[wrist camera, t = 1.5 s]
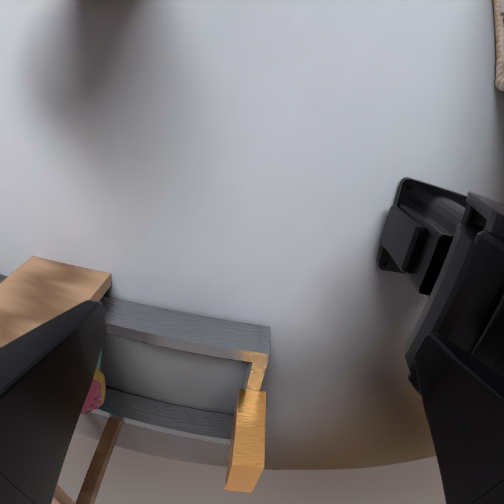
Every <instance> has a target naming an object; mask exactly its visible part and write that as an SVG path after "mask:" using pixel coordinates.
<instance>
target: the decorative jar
mask: <svg viewBox="0 0 504 504" xmlns="http://www.w3.org/2000/svg"><path fill="white" fill-rule="evenodd" d="M493 3H494V13H495V14H494V17H495V34H496V79H495V86H496V88H497V89H498V90H501V91H503V92H504V0H493Z"/></svg>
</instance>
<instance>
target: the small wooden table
mask: <svg viewBox="0 0 504 504" xmlns="http://www.w3.org/2000/svg"><path fill="white" fill-rule="evenodd" d="M111 285H112V284H111V274H110V273H105V272H100V271H95V270H91V269H86V268H82V267H77V266H73V265H68V264H64V263H60V262H55V261H51V260H47V259H42V258H38V257H34V256H32V257H31V258H30V259H29V260H28V261H26V262H25V263H24V264H23V265H21V266H20V267H19V268H18V269H17V270H15V271H14V272H13V273H12V274H11V275H9V276H8V277H7V278H6V279H5V280H4V281H2V282H1V283H0V347H2V346H4V345H5V344H7V343H9V342H11V341H12V340H14V339H16V338H18V337H20V336H21V335H23V334H25V333H27V332H28V331H30V330H32V329H34V328H36V327H37V326H39V325H41V324H43V323H45V322H47V321H48V320H50V319H52V318H54V317H56V316H58V315H59V314H61V313H63V312H65V311H67V310H69V309H70V308H72V307H74V306H76V305H78V304H80V303H82V302H83V301H85V300H94V301H100V299H101V298H102V297H103V295H104V294H105V293H106V291H107V290H108V289H109V288H110V286H111ZM122 424H123V422H121V421H118V420H115V419H111V418H109V419H108V422H107V424H106V426H105V429H104V431H103V434H102V436H101V439H100V441H99V444H98V446H97V449H96V451H95V454H94V456H93V459H92V461H91V464H90V466H89V469H88V471H87V474H86V477H85V479H84V482H83V485H82V488H81V490H80V493H79V496H78V499H77V501H76V504H94V502H95V499H96V496H97V493H98V490H99V488H100V484H101V482H102V479H103V476H104V473H105V470H106V467H107V464H108V462H109V459H110V456H111V454H112V451H113V448H114V445H115V443H116V440H117V437H118V435H119V432H120V429H121V427H122ZM52 504H75V503H74V502H73V501H72V500H71V498H70V497H69V496H68V495H67V494H66V493H65V492H64V491H63V490H62V489H61V488H60V487H59V486H58V484H57V486H56V489H55V493H54V496H53V500H52Z"/></svg>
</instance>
